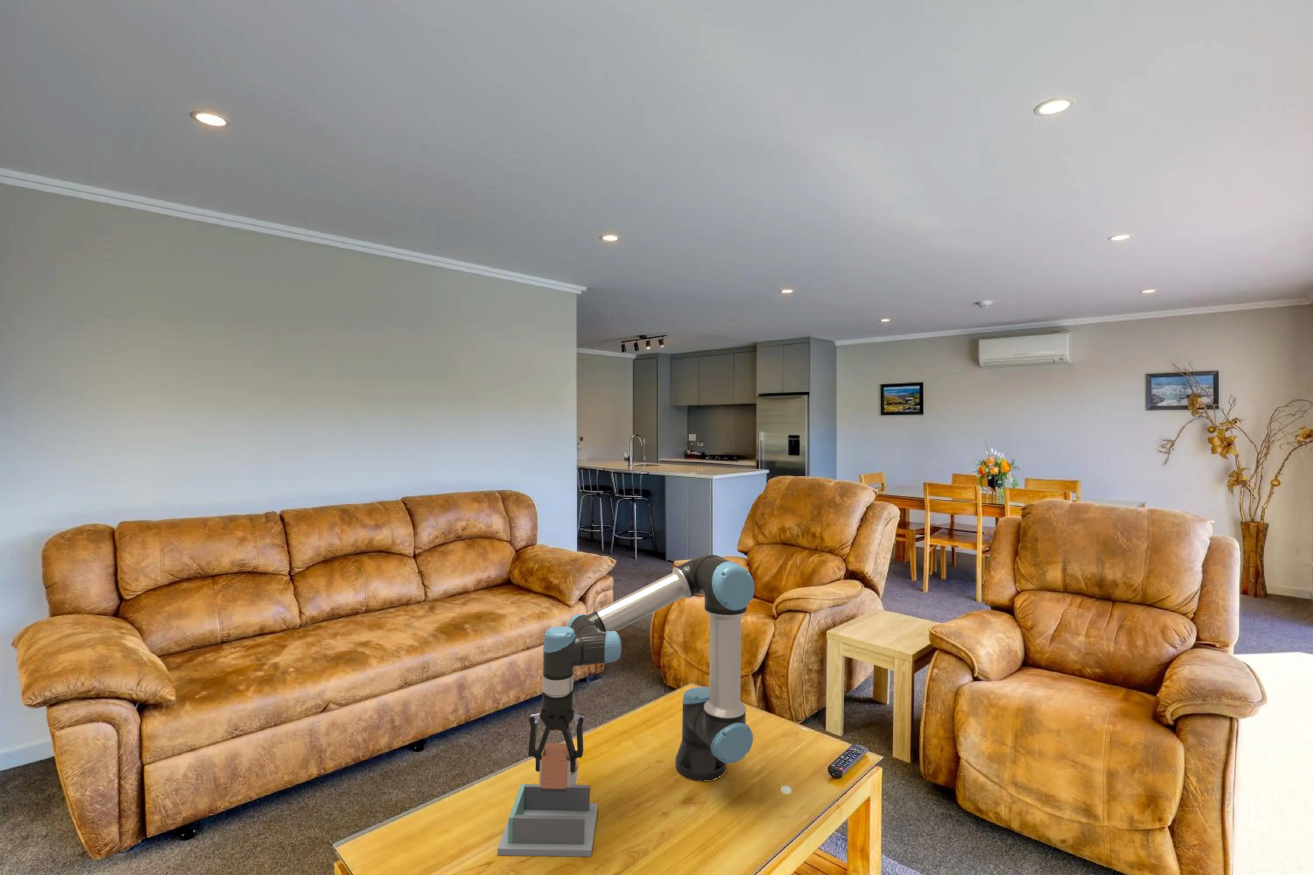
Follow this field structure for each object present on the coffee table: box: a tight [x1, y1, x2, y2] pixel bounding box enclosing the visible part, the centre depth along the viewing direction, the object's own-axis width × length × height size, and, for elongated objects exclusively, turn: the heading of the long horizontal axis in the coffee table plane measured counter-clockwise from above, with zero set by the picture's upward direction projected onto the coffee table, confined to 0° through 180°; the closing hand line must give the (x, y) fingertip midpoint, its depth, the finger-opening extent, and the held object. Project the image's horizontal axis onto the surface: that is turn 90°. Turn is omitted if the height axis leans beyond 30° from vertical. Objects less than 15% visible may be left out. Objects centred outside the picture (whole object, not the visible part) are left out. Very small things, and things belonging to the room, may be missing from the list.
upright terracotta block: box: [541, 742, 569, 793], centre depth 152 cm, size 6×6×9 cm
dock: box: [496, 783, 599, 858], centre depth 152 cm, size 22×18×8 cm
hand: (555, 783), depth 152 cm, fingers closed on upright terracotta block, 6 cm apart
